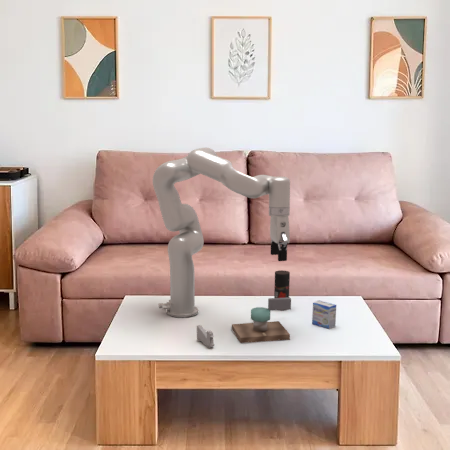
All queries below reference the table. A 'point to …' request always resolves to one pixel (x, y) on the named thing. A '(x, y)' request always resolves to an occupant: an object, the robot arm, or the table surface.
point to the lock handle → (270, 308)
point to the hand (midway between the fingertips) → (278, 257)
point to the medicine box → (324, 314)
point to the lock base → (260, 332)
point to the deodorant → (281, 284)
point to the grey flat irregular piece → (205, 336)
